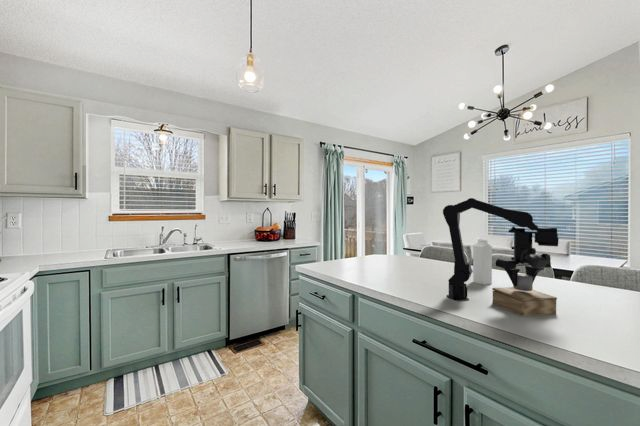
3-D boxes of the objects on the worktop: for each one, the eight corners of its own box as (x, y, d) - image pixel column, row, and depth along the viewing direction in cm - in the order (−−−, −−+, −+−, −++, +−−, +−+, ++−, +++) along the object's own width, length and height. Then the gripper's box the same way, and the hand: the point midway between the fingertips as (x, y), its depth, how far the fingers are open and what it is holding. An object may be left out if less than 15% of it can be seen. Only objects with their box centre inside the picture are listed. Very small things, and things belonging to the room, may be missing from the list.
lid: (521, 301, 103) (521, 298, 103) (492, 289, 117) (492, 287, 117) (556, 299, 105) (556, 297, 105) (523, 288, 119) (523, 286, 119)
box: (521, 315, 103) (521, 301, 103) (492, 303, 117) (492, 290, 117) (556, 313, 105) (556, 299, 105) (524, 301, 119) (524, 289, 119)
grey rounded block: (522, 291, 108) (522, 277, 108) (509, 286, 114) (509, 273, 114) (536, 290, 109) (536, 276, 109) (523, 286, 115) (523, 273, 114)
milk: (482, 284, 146) (482, 240, 145) (472, 281, 152) (472, 239, 151) (492, 283, 147) (492, 240, 147) (482, 280, 153) (482, 238, 153)
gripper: (518, 248, 102) (517, 293, 102) (565, 247, 104) (564, 290, 105) (494, 244, 113) (494, 284, 113) (537, 243, 115) (537, 282, 116)
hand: (522, 285), depth 111 cm, fingers closed on grey rounded block, 6 cm apart
